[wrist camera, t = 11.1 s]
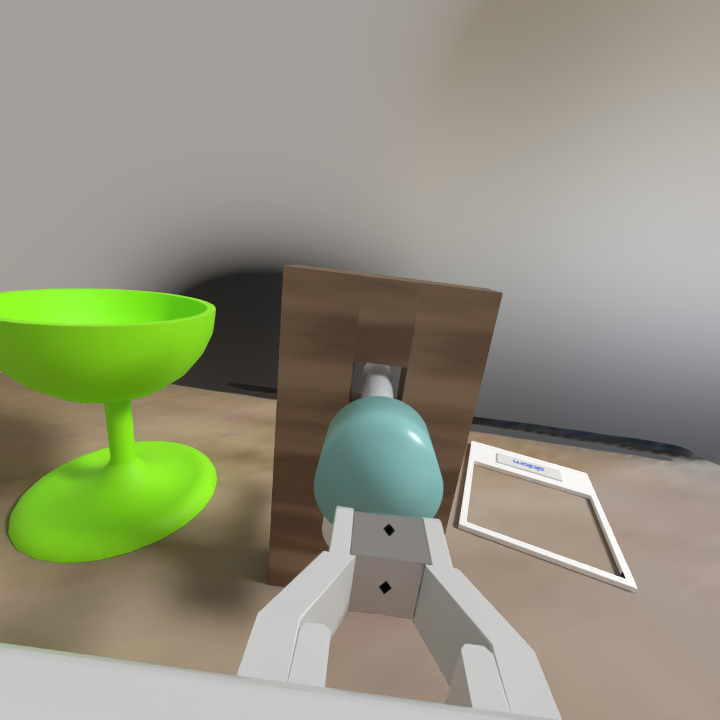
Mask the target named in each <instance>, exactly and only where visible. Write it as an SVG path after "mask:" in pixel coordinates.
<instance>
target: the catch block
mask: <svg viewBox="0 0 720 720" xmlns="http://www.w3.org/2000/svg"><path fill="white" fill-rule="evenodd" d="M501 298H502V293H501V292H497V291H493V290H490V289H487V288H479V287H472V286H464V285H455V284H448V283H440V282H432V281H423V280H416V279H408V278H400V277H392V276H383V275H375V274H367V273H359V272H351V271H343V270H335V269H327V268H318V267H311V266H303V265H287V266H284V271H283V291H282V311H281V330H280V331H281V332H280V350H279V370H278V389H277V409H276V429H275V449H274V468H273V488H272V508H271V528H270V548H269V567H268V584H270V585H277V586H285V587H286V586H287V585H288V584H289V583H290V582H291V581H292V580H293V579H294V578H295V577H296V576H298V575H299V574H300V573H301V572H302V571H303V570H304V569H305V568H306V567H307V566H308V565H309V564H310V563H311V562H312V561H313V560H314V559H315V558H316V557H317V556H318V555H320V554H321V553H322V552H323V551H327V552H329V546H328V545H327V543H326V542H325V540H324V538H323V534H322V523H323V518H324V515H323V514H322V512H321V511H320V509H319V507H318V505H317V502H316V499H315V494H314V478H315V473H316V470H317V466H318V463H319V459H320V456H321V452H322V449H323V445H324V441H325V438H326V434H327V431H328V428H329V425H330V423H331V421H332V419H333V418H334V417H335V415H336V414H337V413H338V412H339V411H340V410H341V409H342V408H343V407H345V406H346V405H348V404H349V403H351V402H353V401H355V400H358V399H361V394H362V393H356V392H351V389H352V381H353V372H354V364H355V361H358V362H366V363H373V364H381V365H389V366H397V367H402V368H401V374H400V380H399V386H398V393H397V398H395V397H393V398H394V399H397V400H400V401H402V402H404V403H406V404H407V405H409V406H410V407H412V408H413V409H414V410H415V411H416V412H417V413H418V414H419V415H420V416H421V418H422V419H423V421H424V422H425V424H426V426H427V429H428V432H429V436H430V439H431V442H432V446H433V449H434V452H435V456H436V459H437V462H438V466H439V469H440V472H441V476H442V480H443V496H442V501H441V504H440V507H439V509H438V511H437V513H436V514H435V516H434V517H433V518H435V519H439V520H440V521H441V523H442V527H443V531H444V535H445V532H446V528H447V524H448V520H449V515H450V511H451V507H452V503H453V499H454V494H455V490H456V486H457V482H458V478H459V474H460V469H461V465H462V461H463V457H464V453H465V449H466V444H467V440H468V436H469V432H470V428H471V423H472V419H473V415H474V411H475V407H476V403H477V398H478V394H479V390H480V385H481V381H482V378H483V373H484V369H485V365H486V361H487V357H488V352H489V348H490V344H491V340H492V336H493V331H494V327H495V323H496V319H497V315H498V310H499V306H500V302H501Z"/></svg>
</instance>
